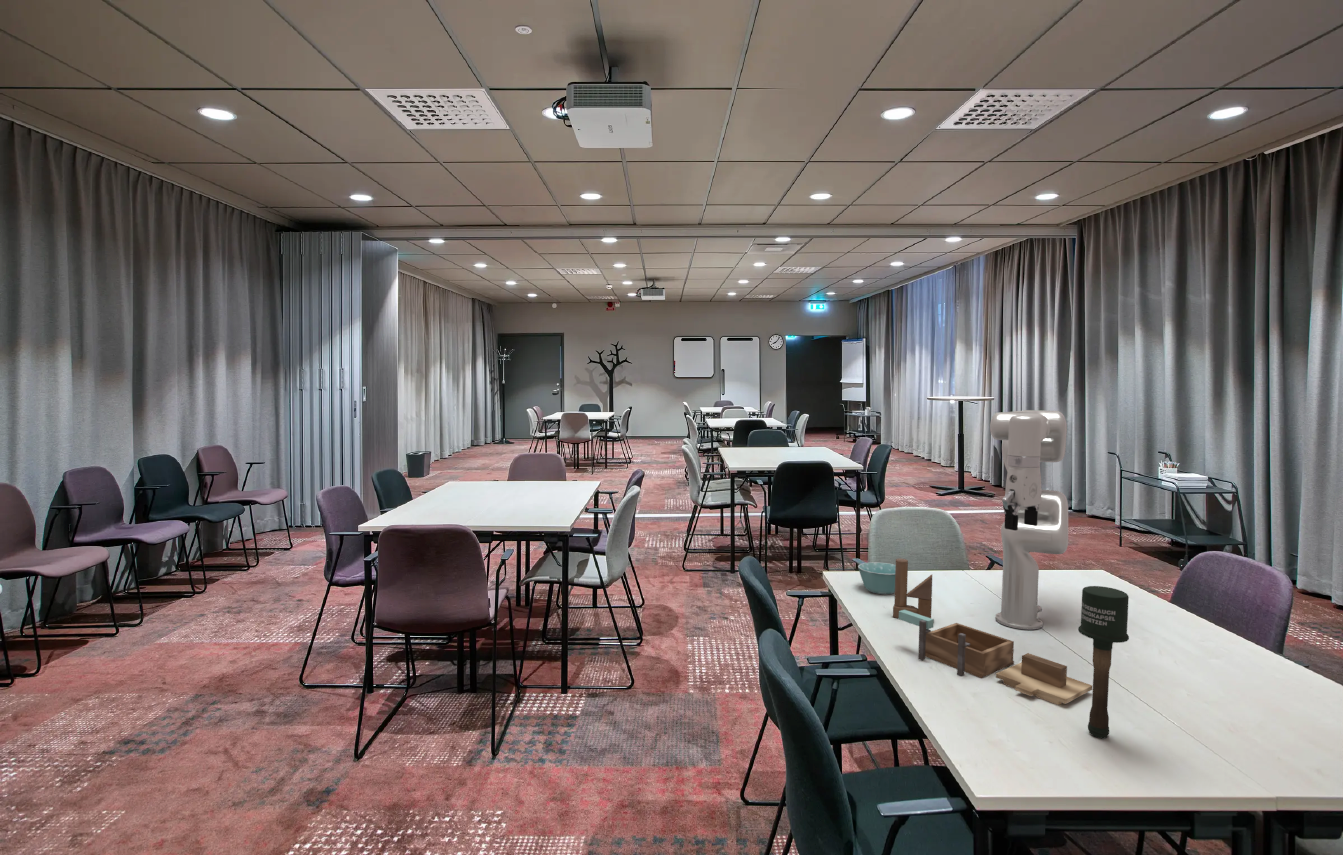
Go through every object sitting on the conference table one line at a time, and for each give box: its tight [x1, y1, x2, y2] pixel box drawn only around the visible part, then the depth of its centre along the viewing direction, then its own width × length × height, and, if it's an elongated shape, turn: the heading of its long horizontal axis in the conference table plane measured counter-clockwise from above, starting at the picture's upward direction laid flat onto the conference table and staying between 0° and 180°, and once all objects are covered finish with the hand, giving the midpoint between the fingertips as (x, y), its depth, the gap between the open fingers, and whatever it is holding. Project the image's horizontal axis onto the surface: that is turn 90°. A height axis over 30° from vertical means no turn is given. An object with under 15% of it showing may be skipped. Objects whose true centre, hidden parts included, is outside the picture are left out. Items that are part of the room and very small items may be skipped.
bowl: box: [857, 561, 896, 596], centre depth 230 cm, size 16×16×8 cm
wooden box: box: [917, 620, 1015, 679], centre depth 171 cm, size 18×16×10 cm
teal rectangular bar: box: [898, 610, 935, 630], centre depth 177 cm, size 2×9×2 cm, turn 35°
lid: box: [995, 652, 1093, 706], centre depth 156 cm, size 15×16×7 cm
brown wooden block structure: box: [892, 557, 933, 619], centre depth 202 cm, size 4×11×18 cm, turn 64°
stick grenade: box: [1077, 585, 1130, 739], centre depth 135 cm, size 8×9×30 cm
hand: (1020, 527), depth 174 cm, fingers open, 9 cm apart
